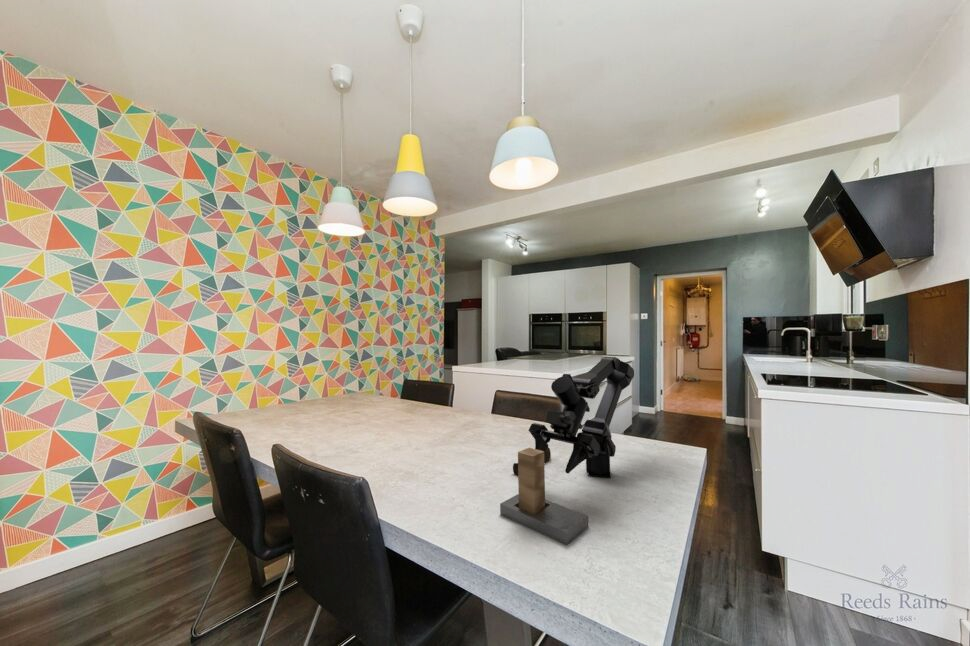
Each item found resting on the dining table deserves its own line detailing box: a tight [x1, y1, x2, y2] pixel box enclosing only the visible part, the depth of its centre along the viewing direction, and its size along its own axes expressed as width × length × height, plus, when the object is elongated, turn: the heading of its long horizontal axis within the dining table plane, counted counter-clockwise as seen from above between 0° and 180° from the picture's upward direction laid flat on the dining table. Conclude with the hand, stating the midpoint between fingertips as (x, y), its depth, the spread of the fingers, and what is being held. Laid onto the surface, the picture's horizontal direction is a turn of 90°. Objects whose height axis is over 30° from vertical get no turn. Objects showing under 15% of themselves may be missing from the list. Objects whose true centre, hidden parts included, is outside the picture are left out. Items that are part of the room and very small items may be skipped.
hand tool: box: [512, 446, 552, 476], centre depth 113 cm, size 19×4×5 cm, turn 136°
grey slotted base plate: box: [499, 493, 589, 546], centre depth 81 cm, size 18×9×2 cm, turn 46°
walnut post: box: [517, 447, 546, 515], centre depth 83 cm, size 4×4×15 cm
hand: (550, 467), depth 89 cm, fingers open, 9 cm apart
